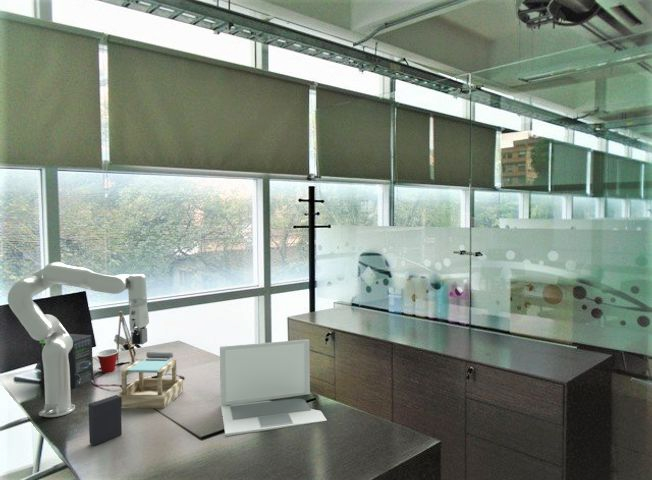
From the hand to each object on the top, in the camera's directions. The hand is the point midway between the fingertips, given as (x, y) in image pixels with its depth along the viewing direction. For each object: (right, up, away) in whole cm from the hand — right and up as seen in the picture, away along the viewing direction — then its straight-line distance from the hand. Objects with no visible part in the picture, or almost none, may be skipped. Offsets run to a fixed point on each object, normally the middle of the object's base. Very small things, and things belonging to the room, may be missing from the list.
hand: (139, 341), depth 209 cm
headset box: (-47, -27, +26) cm, 60 cm away
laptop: (+61, -28, -14) cm, 69 cm away
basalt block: (0, -1, 0) cm, 1 cm away
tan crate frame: (+4, -28, +4) cm, 28 cm away
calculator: (+1, -30, -34) cm, 45 cm away
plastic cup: (-33, -26, +40) cm, 58 cm away
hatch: (+4, -12, +6) cm, 14 cm away
